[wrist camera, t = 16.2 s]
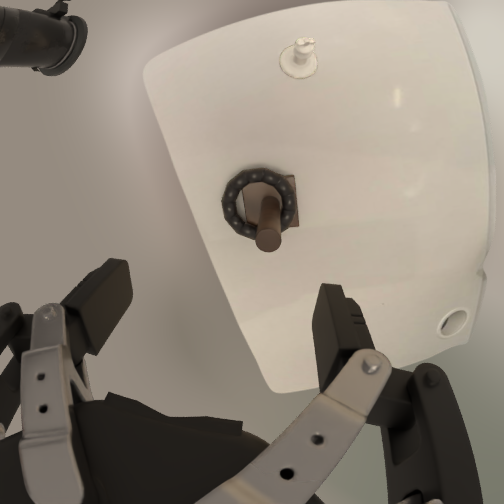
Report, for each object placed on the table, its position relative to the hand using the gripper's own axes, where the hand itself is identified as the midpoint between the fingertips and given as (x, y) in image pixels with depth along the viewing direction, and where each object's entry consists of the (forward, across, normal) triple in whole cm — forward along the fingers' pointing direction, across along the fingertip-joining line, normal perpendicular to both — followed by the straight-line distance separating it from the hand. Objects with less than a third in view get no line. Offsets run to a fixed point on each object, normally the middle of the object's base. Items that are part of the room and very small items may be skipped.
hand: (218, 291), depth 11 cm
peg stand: (+28, -2, +4) cm, 28 cm away
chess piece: (+28, -4, -16) cm, 32 cm away
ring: (+26, -1, +4) cm, 26 cm away
